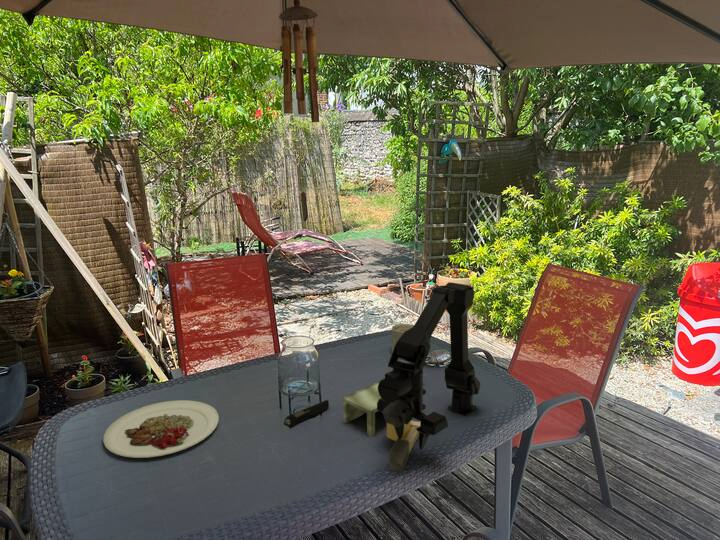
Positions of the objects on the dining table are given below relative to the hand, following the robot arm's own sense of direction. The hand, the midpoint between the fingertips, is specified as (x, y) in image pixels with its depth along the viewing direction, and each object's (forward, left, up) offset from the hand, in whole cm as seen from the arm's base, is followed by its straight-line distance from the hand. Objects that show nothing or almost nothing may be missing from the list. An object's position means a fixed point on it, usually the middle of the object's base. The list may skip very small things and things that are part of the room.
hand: (410, 443), depth 129 cm
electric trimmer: (+7, -34, -3) cm, 34 cm away
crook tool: (0, -4, -2) cm, 4 cm away
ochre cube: (-4, -7, -3) cm, 8 cm away
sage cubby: (-7, -18, -2) cm, 20 cm away
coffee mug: (-52, -45, -3) cm, 69 cm away
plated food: (+40, -57, -3) cm, 69 cm away
